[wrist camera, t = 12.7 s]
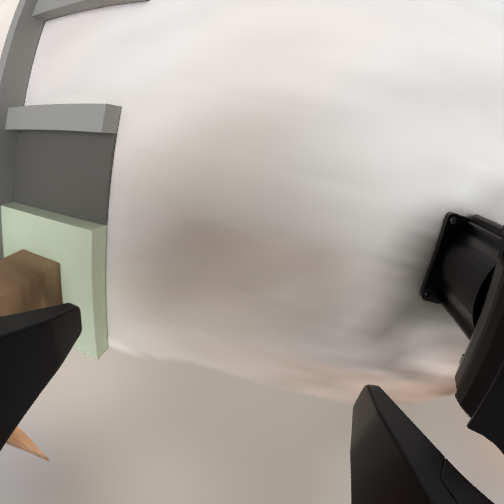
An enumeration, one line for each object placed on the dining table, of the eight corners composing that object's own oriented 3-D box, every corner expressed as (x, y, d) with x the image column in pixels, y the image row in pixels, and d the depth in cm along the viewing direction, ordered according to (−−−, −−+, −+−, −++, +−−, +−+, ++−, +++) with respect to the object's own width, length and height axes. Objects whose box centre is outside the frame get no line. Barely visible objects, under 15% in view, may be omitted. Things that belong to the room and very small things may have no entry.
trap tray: (108, 348, 26) (89, 368, 23) (18, 305, 27) (-2, 318, 24) (156, -20, 16) (136, -39, 12) (43, 6, 17) (20, -3, 13)
